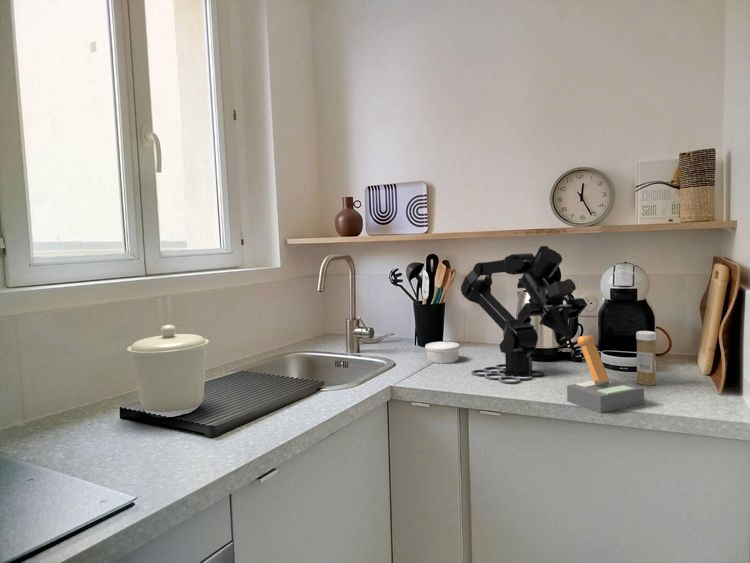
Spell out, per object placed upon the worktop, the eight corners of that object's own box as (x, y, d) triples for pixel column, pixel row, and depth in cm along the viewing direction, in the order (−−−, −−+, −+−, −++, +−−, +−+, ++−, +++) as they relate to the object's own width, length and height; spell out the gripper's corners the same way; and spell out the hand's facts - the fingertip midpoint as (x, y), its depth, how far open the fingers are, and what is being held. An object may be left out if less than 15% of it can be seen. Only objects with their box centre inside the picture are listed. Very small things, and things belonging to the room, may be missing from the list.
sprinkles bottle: (659, 383, 134) (659, 331, 133) (650, 386, 131) (650, 334, 130) (642, 380, 137) (642, 329, 136) (632, 383, 135) (632, 331, 134)
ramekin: (432, 366, 162) (432, 349, 161) (421, 358, 173) (420, 343, 172) (465, 363, 164) (465, 346, 164) (452, 355, 175) (452, 340, 175)
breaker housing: (567, 400, 122) (567, 384, 122) (608, 393, 127) (608, 377, 127) (600, 413, 113) (600, 395, 113) (643, 404, 118) (643, 387, 117)
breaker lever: (594, 387, 120) (575, 338, 125) (604, 385, 122) (586, 337, 126) (601, 384, 118) (582, 335, 123) (611, 382, 120) (592, 333, 124)
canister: (137, 431, 112) (131, 334, 110) (127, 410, 127) (121, 325, 126) (221, 414, 122) (216, 324, 120) (202, 396, 137) (197, 317, 135)
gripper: (523, 271, 129) (555, 320, 120) (581, 267, 136) (615, 313, 127) (505, 300, 137) (533, 348, 128) (560, 295, 144) (591, 340, 135)
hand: (569, 337), depth 129 cm, fingers closed
